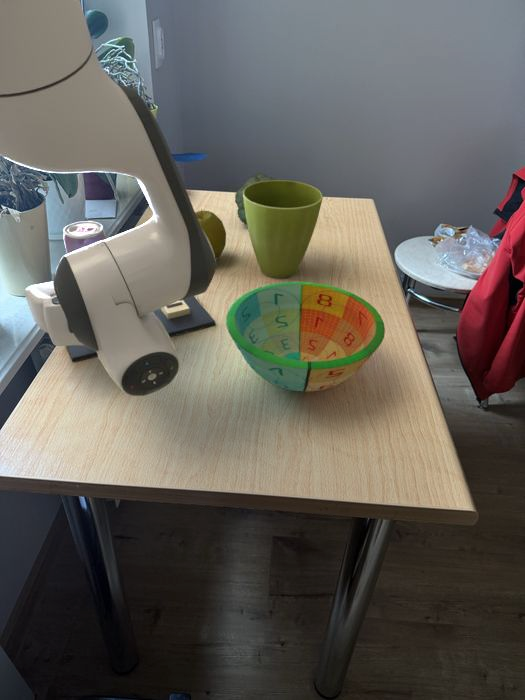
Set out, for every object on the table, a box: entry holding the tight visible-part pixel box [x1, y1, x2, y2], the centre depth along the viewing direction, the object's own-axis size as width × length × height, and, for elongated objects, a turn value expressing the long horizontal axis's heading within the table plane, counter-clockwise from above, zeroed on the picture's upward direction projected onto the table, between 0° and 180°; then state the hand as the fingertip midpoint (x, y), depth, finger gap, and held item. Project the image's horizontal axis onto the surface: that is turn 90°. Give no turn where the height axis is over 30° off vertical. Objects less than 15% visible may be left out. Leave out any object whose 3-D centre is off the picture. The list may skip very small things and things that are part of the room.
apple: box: [194, 208, 227, 260], centre depth 108 cm, size 10×10×11 cm
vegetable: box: [234, 172, 279, 226], centre depth 126 cm, size 12×13×15 cm
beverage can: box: [62, 220, 107, 255], centre depth 82 cm, size 6×6×15 cm
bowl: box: [225, 281, 386, 392], centre depth 78 cm, size 22×22×10 cm
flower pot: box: [243, 179, 324, 279], centre depth 103 cm, size 15×15×16 cm
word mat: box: [65, 296, 216, 363], centre depth 90 cm, size 24×12×2 cm, turn 118°
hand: (89, 269), depth 82 cm, fingers closed on beverage can, 6 cm apart
